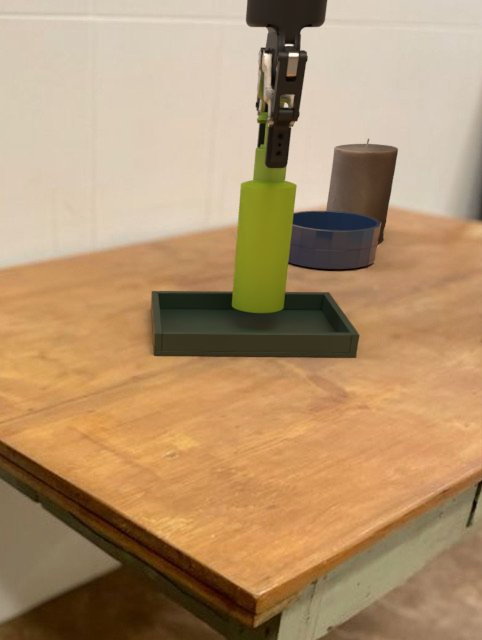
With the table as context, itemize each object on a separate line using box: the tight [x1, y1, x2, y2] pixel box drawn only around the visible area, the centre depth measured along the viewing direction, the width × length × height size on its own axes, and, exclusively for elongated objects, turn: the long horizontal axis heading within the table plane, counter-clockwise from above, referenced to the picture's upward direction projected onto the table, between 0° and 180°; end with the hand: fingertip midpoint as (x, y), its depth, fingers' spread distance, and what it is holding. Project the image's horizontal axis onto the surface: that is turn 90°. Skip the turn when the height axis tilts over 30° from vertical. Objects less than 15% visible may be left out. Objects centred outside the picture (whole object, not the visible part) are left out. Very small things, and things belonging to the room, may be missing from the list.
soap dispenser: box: [232, 112, 298, 313], centre depth 88 cm, size 6×7×20 cm
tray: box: [150, 290, 360, 358], centre depth 93 cm, size 22×16×2 cm
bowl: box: [288, 210, 381, 270], centre depth 121 cm, size 14×14×6 cm
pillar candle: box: [325, 138, 399, 244], centre depth 129 cm, size 10×10×15 cm
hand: (271, 162), depth 85 cm, fingers closed on soap dispenser, 5 cm apart
